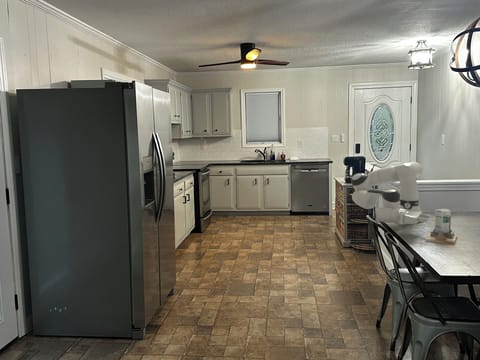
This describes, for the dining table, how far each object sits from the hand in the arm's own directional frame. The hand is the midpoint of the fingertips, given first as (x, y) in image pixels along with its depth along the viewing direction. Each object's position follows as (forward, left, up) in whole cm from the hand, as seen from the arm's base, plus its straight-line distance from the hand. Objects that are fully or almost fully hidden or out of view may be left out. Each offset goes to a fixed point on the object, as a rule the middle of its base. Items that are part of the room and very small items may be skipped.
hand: (428, 218), depth 238 cm
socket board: (+3, +7, -11) cm, 13 cm away
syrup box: (-1, +7, -9) cm, 12 cm away
